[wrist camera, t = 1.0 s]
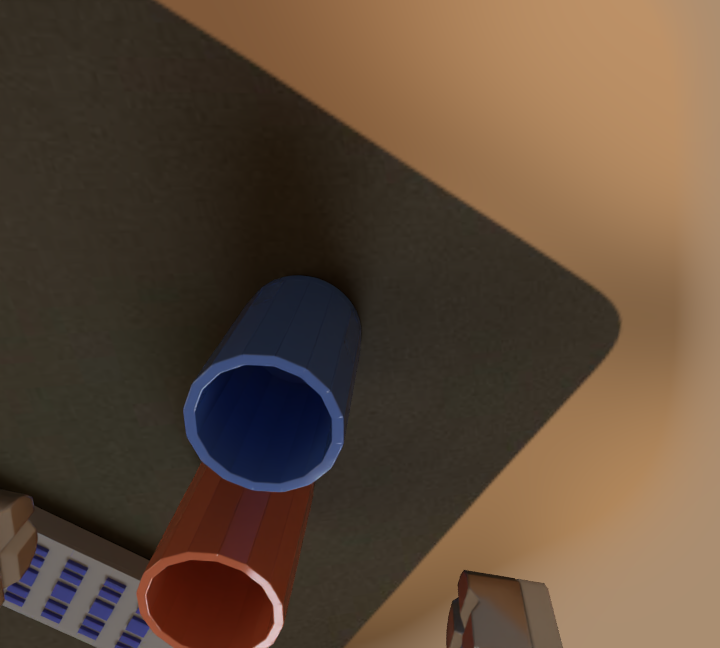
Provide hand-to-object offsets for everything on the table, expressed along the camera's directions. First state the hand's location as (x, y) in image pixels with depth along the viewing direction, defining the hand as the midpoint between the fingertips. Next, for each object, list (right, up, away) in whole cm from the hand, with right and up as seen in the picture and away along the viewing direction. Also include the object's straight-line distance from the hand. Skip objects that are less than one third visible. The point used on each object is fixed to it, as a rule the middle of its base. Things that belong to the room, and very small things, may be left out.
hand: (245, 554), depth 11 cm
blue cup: (-1, +4, +22) cm, 22 cm away
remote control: (-19, -12, +30) cm, 38 cm away
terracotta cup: (-4, -5, +26) cm, 27 cm away
